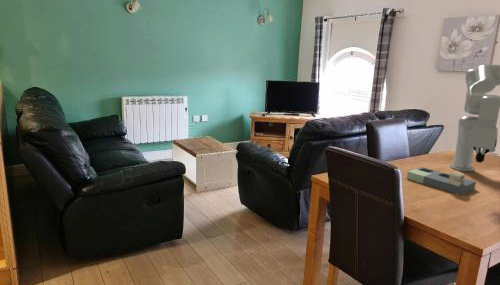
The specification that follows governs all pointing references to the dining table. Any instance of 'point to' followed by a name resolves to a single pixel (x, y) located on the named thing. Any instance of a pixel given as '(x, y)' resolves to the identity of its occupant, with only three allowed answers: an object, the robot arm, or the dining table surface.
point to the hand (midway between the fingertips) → (479, 161)
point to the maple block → (456, 179)
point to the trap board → (439, 180)
